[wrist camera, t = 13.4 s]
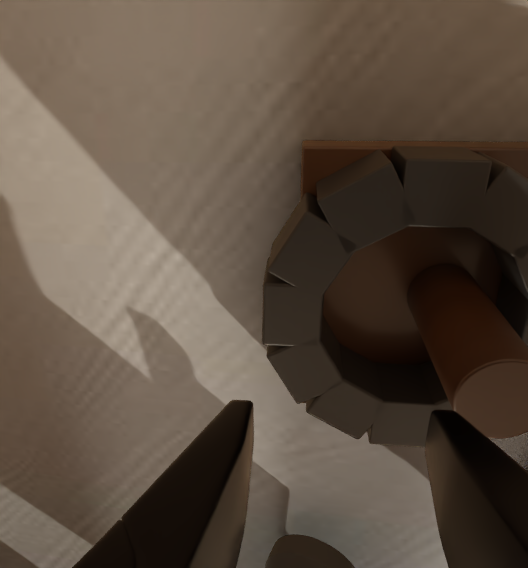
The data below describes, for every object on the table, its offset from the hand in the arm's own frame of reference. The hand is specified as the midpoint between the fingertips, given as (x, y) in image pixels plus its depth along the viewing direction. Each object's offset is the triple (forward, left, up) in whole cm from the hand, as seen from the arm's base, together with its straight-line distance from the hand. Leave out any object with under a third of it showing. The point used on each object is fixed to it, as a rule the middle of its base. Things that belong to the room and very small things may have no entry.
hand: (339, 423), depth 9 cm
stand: (+3, 0, -7) cm, 8 cm away
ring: (+2, 0, -6) cm, 6 cm away
